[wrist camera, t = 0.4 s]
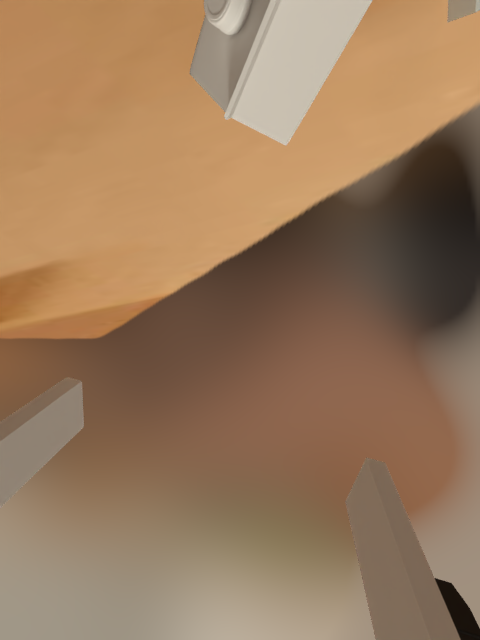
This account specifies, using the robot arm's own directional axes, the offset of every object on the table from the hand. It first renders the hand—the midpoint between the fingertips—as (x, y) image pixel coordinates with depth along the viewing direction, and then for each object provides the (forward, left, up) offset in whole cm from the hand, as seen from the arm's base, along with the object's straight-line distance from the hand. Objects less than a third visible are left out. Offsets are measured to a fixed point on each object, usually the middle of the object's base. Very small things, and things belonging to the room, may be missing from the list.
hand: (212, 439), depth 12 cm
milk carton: (-12, +6, -31) cm, 34 cm away
